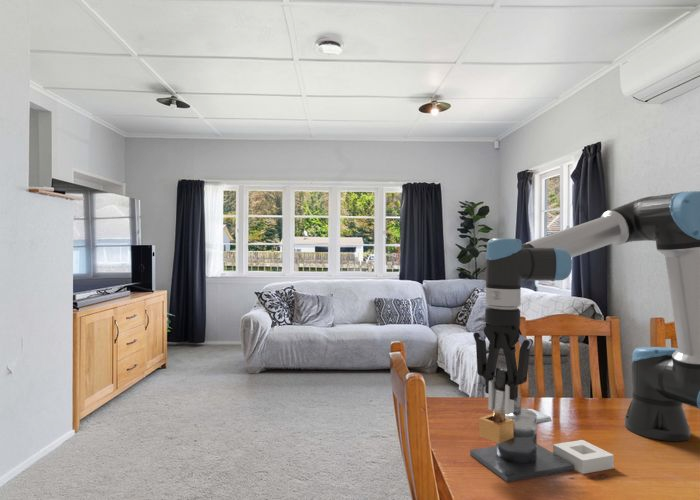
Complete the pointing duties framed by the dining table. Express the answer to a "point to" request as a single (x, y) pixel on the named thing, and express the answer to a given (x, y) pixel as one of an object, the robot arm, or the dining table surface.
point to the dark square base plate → (521, 459)
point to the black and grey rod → (500, 394)
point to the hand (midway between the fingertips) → (500, 410)
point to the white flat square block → (584, 456)
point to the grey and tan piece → (509, 424)
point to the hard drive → (541, 416)
